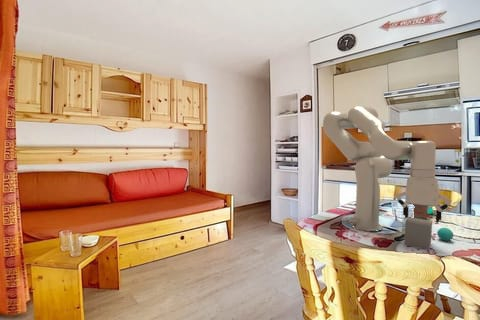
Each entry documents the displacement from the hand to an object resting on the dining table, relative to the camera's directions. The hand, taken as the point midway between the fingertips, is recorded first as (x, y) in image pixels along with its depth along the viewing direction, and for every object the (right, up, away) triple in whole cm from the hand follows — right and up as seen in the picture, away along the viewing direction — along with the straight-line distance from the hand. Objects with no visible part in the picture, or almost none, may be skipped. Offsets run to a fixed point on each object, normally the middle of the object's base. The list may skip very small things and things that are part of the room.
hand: (421, 219), depth 99 cm
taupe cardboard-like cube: (-1, -10, +2) cm, 10 cm away
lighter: (+22, -8, +36) cm, 43 cm away
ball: (+13, -7, +5) cm, 16 cm away
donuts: (+32, -7, +47) cm, 57 cm away
